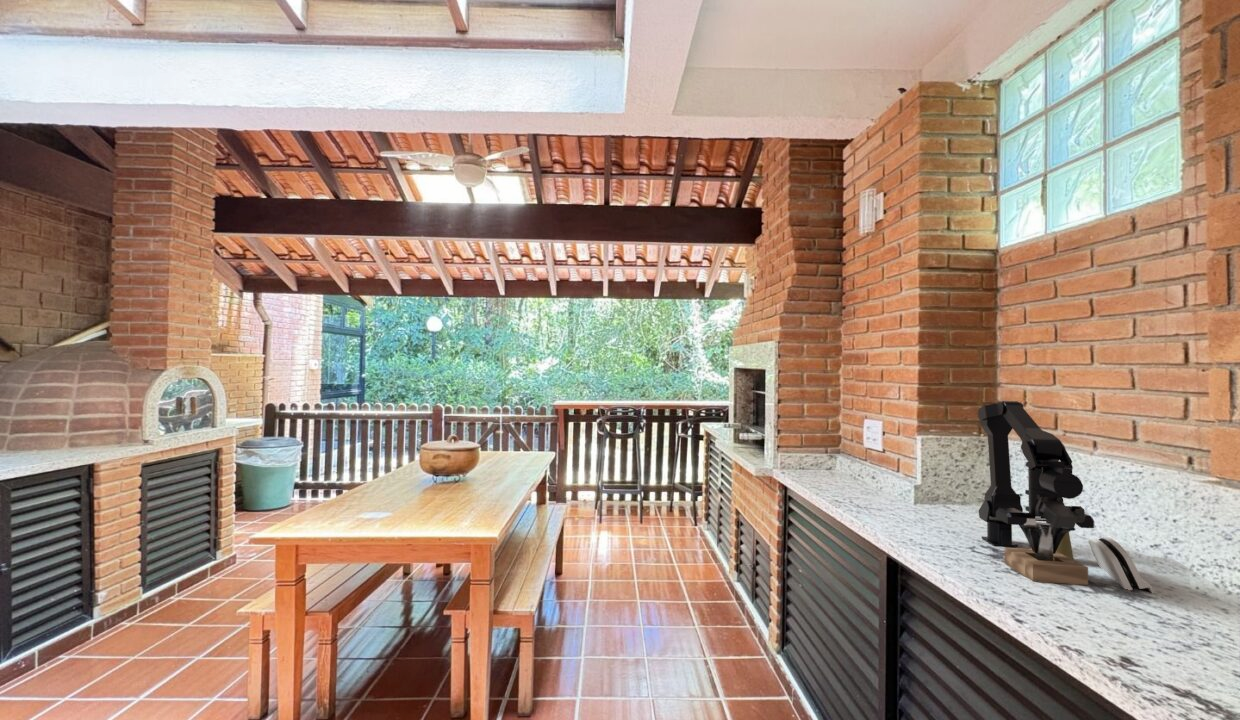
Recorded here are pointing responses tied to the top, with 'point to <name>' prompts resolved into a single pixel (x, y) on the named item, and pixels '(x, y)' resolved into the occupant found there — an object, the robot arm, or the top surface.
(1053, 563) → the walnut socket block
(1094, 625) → the top surface
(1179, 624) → the top surface
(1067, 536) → the cork
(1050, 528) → the grey metal peg
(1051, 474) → the robot arm
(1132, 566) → the grey black curved wedge
